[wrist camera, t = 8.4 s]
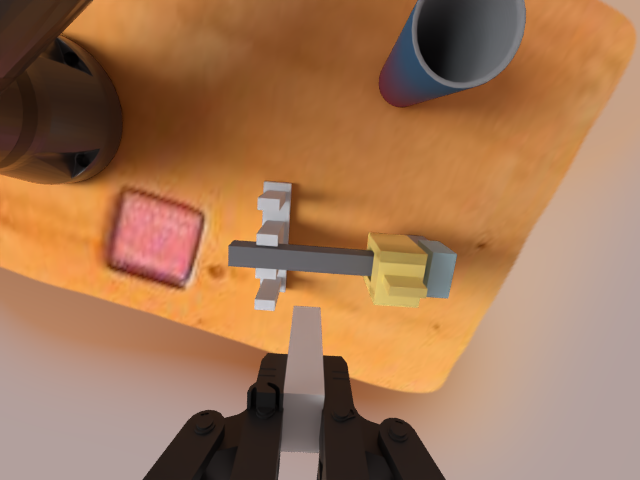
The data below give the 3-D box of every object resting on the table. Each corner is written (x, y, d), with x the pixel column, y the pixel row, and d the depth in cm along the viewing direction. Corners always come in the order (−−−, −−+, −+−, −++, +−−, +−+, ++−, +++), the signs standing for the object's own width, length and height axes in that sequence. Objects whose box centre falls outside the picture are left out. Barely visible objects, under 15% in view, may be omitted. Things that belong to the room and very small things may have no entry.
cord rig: (245, 285, 39) (224, 324, 30) (247, 179, 36) (225, 188, 27) (412, 297, 40) (439, 338, 31) (430, 194, 36) (466, 207, 28)
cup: (402, 129, 34) (464, 112, 20) (356, 84, 33) (387, 31, 19) (448, 78, 33) (549, 20, 19) (402, 29, 32) (474, -73, 17)
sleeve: (363, 277, 34) (379, 319, 25) (368, 232, 33) (387, 260, 24) (399, 279, 34) (427, 322, 26) (406, 235, 33) (438, 264, 24)
